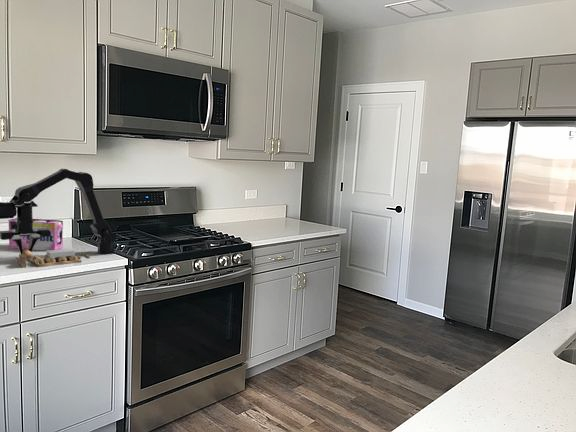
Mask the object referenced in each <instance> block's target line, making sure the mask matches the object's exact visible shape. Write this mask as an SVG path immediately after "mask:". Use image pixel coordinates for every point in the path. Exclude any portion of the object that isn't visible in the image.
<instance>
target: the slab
mask: <svg viewBox="0 0 576 432" xmlns="http://www.w3.org/2000/svg"><path fill="white" fill-rule="evenodd" d="M45 251H46V252H45V255H47V256H48V257H50V258H55V257H66V256H73V255H75V254H76V250H74V249H73V248H71V247H70V248H61V249H58V250H45Z"/></svg>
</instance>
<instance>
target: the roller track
mask: <svg viewBox="0 0 576 432" xmlns="http://www.w3.org/2000/svg"><path fill="white" fill-rule="evenodd" d="M80 254H81V255H82V256H84V257H86V258H88V259H90V256H89V255H88V254H86V253H84V252H82V251H80ZM43 256H44V257H43V259H42V258H41V257H40V256H38V255H34V256H32V257H31V258H26V260H28V261H29V262H30V263H33V264H35V265H37V267H39V268H41V267H50V266H52V267H53V266H59V265H60V266H61V265H67V264H69V265H70V264H77V263H78V264H79V263H82V261H83V260H82V257H80V256H79V255H77V254H76V253H75V255H73V256H64V257H54V258H50V257H48V256H47V255H46V254H45V255H43ZM15 259H16V260H15V261H16V262H17V263H19V257H18V258H15ZM56 260H57V261H56Z"/></svg>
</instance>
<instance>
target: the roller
mask: <svg viewBox="0 0 576 432" xmlns="http://www.w3.org/2000/svg"><path fill="white" fill-rule="evenodd" d="M18 252H19V253H20V251H19V250H18ZM22 254H24V255H25V256H26V259H27V258H30V259H32V258H33V253H32V252H30V251H29V249H26V248H25V247H22Z"/></svg>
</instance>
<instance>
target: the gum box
mask: <svg viewBox="0 0 576 432" xmlns="http://www.w3.org/2000/svg"><path fill="white" fill-rule="evenodd" d="M7 220H8V231H11V232H15V229H13V230H10V222H15V223H17V217H14V218H9V219H7ZM40 228H47V229H49V230H50V231H51V236H48V237H43V236H42V235H39V237H40V239H38V240H37V241H36V243H35V245H34V247H33V249H32V250H38V251H40V250H41V251H48V250H59V249H64V239H63V238H64V237H63V228H64V222H63V220H60V219H45V218H44V219H42V218H40V219H39V218H33V231H37V230H38V229H40ZM27 234H29V233H27ZM20 239H21V241H22V247H25V248H26V249H28V250H29V242H30V239H29V236H20ZM8 245H9V246H8V248H10V249H18V246H17V244H16V242H15V241H13V240H11V239H8Z"/></svg>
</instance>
